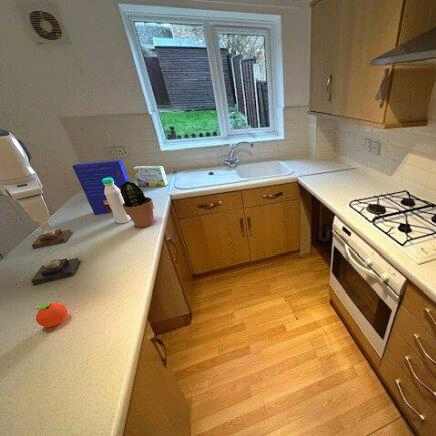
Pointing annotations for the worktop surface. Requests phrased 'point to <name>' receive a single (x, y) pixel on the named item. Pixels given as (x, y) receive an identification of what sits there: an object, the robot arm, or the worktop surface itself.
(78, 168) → the cereal box
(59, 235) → the reddish brown slab
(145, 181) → the snack box
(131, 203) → the potted plant
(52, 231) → the back key
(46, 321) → the tomato
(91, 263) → the worktop surface
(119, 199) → the water bottle
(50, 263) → the front key
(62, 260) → the dark slab
